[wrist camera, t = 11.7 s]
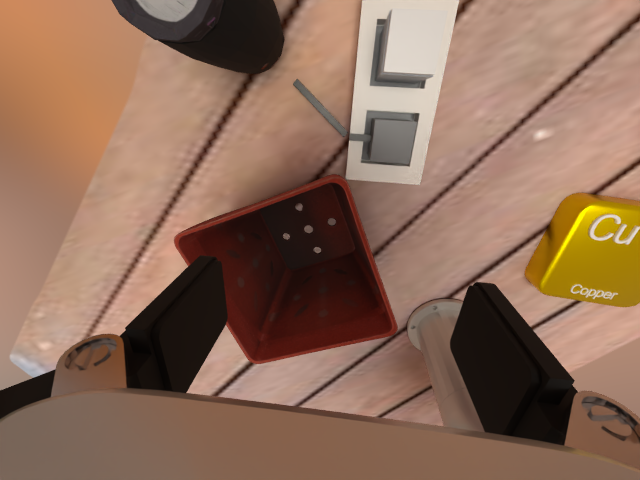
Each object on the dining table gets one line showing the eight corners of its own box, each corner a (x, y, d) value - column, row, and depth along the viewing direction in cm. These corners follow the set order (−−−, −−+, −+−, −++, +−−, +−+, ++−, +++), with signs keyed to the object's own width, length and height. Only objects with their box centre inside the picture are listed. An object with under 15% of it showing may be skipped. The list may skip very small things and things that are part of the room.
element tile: (518, 278, 45) (536, 296, 41) (565, 189, 39) (591, 199, 35) (612, 293, 45) (639, 312, 41) (675, 205, 38) (716, 218, 34)
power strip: (450, 3, 31) (474, -21, 25) (415, 179, 40) (426, 192, 34) (294, -2, 32) (282, -27, 27) (292, 170, 41) (283, 181, 35)
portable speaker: (297, 68, 35) (245, 30, 18) (229, 84, 37) (120, 63, 19) (281, -17, 32) (196, -169, 14) (207, 4, 34) (50, -109, 16)
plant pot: (346, 148, 39) (344, 173, 24) (383, 261, 46) (400, 335, 31) (231, 192, 44) (168, 237, 28) (281, 289, 51) (251, 366, 35)
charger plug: (424, 34, 32) (449, 9, 24) (415, 83, 34) (435, 75, 26) (381, 32, 32) (391, 6, 24) (374, 81, 35) (382, 72, 26)
